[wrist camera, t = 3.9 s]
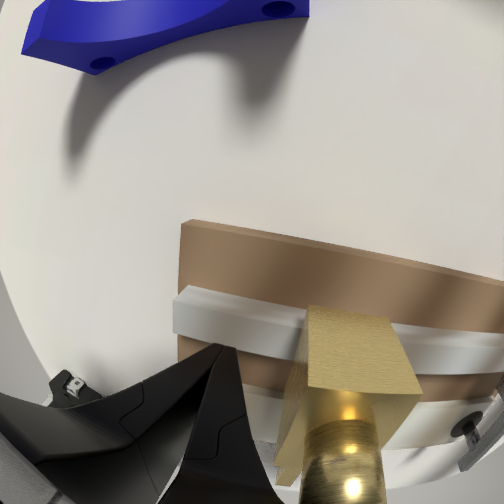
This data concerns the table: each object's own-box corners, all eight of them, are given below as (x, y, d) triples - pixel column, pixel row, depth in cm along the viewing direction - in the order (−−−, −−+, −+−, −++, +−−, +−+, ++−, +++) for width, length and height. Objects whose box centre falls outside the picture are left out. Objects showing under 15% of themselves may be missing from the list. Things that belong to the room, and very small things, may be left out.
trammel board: (537, 290, 9) (560, 307, 7) (456, 430, 13) (464, 453, 11) (192, 219, 12) (163, 231, 10) (186, 407, 16) (172, 435, 13)
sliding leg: (381, 305, 9) (450, 470, 3) (312, 449, 13) (301, 554, 6) (308, 293, 10) (301, 481, 3) (263, 443, 13) (237, 547, 6)
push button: (115, 391, 17) (48, 473, 8) (121, 424, 19) (70, 495, 10) (59, 356, 18) (-10, 416, 9) (69, 391, 20) (15, 449, 10)
